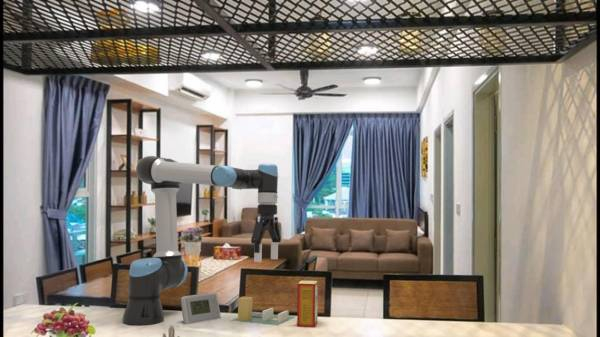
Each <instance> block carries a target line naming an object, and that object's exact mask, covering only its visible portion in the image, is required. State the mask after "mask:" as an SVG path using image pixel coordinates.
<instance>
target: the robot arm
mask: <svg viewBox="0 0 600 337" xmlns="http://www.w3.org/2000/svg"><path fill="white" fill-rule="evenodd" d="M135 168H136V169H135V172H136V177H138V179H139V181H141V182H143V183H144V184H148V185H150V191H151V192H152V193H153V194H154V202H155V210H154V211H155V246H156V247H155V250H156V252H155V253H154V254H153V255H152V257H146V258H139V259H136V260H133V261H132V262H131V263H130V266H129V270H128V271H129V272H128V274H129V277H128V299H127V300H128V301H127V305H126V306H125V310H124V313H123V315H122V323H123V324H125V325H130V326H131V325H133V326H134V325H135V326H144V325H145V326H146V325H153V324H154V325H155V324H158V323H162V322H164V321H165V313H164V310H163V305H162V302H161V290H162V291H163V290H168V289H173V288H176V287H179V286H180V285H183V283H184V282H185V280H186V278H188V272H189V271H188V265H187V263H186V262H185V260H183V258H182V253H181V252H180V251H179V250H178V248H179V246H178V218H177V213H178V212H177V193H178V192H179V191H180V185H182V183H183V184H184V183H185V184H196V185H207V186H214V187H215V186H216V187H221V188H231V189H233V190H240V191H241V190H254V189H255V190H257V204H258V205H257V215H260V216H256V217H255V224H254V228H253V231H252V235H251V239H250V241H251V244H254V245H253V246H254V250H253V251H254V254H253V256H254V257H253V262H254V263H262V261H263V260H262V259H263V258H262V257H263V255H262V254H263V252H262V251H263V244H262V241H263V238H264V236H265V233H266V231H268V233H269V236H270V239H271V242H270V259H271V260H278V259H279V243H281V241H282V237H281V231H280V227H279V223H278V222H279V220H278V219H279V218H278V216H275V215H277V214H278V205H277V204H278V198H279V195H278V183H279V181H278V178H279V175H278V174H279V173H278V172H279V171H278V166H277V164H274V163H260V164H258V167H257V169H242V168H238V167H232V166H229V165H213V164H202V163H201V164H200V163H191V162H179V161H177V160H174V159H171V158H166V157H160V156H154V155H148V156H144V157H143V158H141V159H140V160H139V161H138V163H137V165H136V167H135Z"/></svg>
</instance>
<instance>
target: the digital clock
mask: <svg viewBox="0 0 600 337" xmlns="http://www.w3.org/2000/svg"><path fill="white" fill-rule="evenodd" d="M180 306H181V312H182V313H181V314H182V319H183V324H184V325H192V324H199V323H204V322H209V321H216V320H217V321H218V320H221V319H222V315H221V311H220V305H219V298H218V294H217V293H216V292H209V293H208V292H207V293H200V294H199V293H198V294H191V295H185V296H182V297H180ZM186 327H188V326H186Z"/></svg>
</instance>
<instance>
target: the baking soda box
mask: <svg viewBox="0 0 600 337" xmlns="http://www.w3.org/2000/svg"><path fill="white" fill-rule="evenodd" d="M318 285H319V281H318V280H303V279H302V280H300V281H299V282H297V294H296V295H297V300H296V301H297V303H296V304H297V309H296V311H297V312H296V314H297V315H296V318H297V319H296V320H297V321H296V327H297V328H313V329H314V328H316V326H317V324H318V310H319V309H318V304H319V303H318V302H319V300H318V296H319V295H318V294H319V292H318Z"/></svg>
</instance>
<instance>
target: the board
mask: <svg viewBox="0 0 600 337" xmlns="http://www.w3.org/2000/svg"><path fill="white" fill-rule="evenodd" d="M289 314H290V312H289V310H284V311H281V312H280V313H278V314H274V307H270V308H267V309H265V310H262V312H261V311H252V319H250V320H238V317H235V318H232V319H230V321H232V322H241V323H243V322H244V323H250V324H259V325H260V324H261V325H270V326H271V325H272V326H279V325H282V324H284V323H287V322H289V321H291V320H292V319H295V318H296V316H293V315H289Z"/></svg>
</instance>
